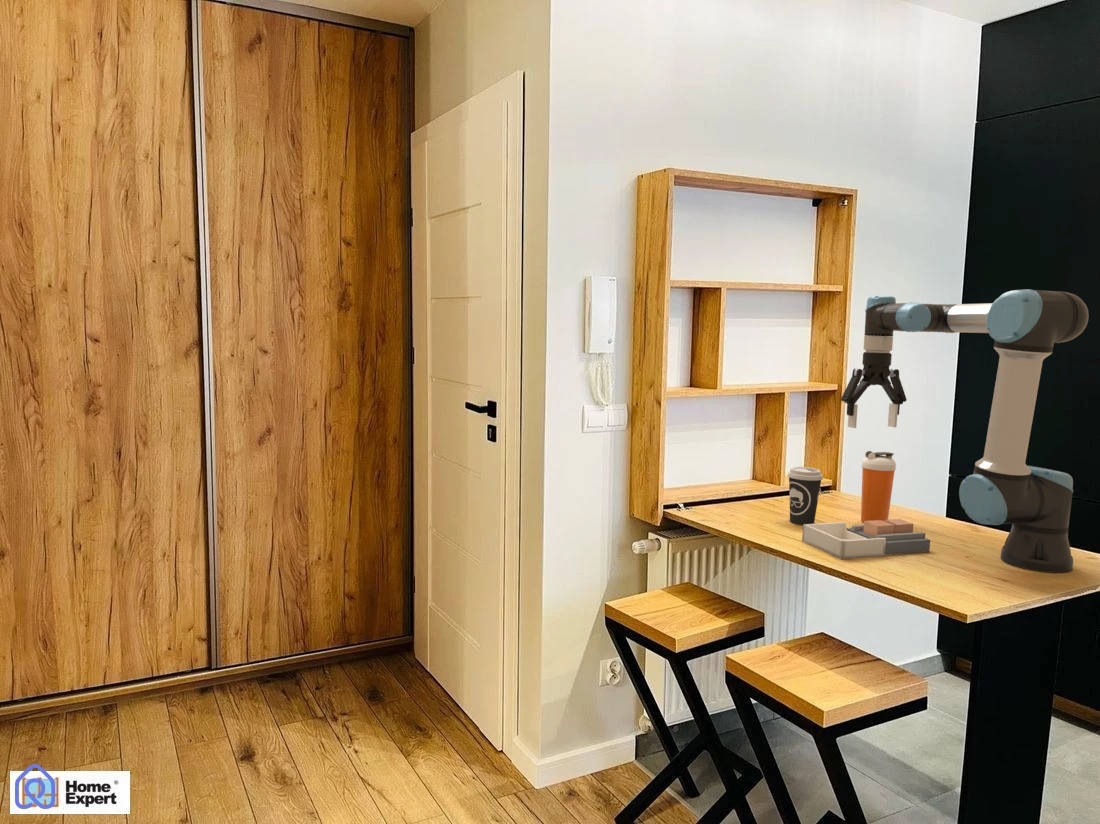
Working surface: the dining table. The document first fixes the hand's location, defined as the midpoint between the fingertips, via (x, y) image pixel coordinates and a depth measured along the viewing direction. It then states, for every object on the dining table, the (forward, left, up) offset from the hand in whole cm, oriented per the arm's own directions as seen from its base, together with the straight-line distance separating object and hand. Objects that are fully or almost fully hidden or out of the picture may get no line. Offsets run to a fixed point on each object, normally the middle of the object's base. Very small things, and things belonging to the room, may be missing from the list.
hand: (872, 427), depth 240 cm
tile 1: (-24, +16, -24) cm, 37 cm away
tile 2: (-24, +10, -24) cm, 35 cm away
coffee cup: (+1, +21, -27) cm, 34 cm away
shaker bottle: (-3, 0, -27) cm, 27 cm away
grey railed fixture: (-24, +13, -27) cm, 38 cm away
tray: (-24, +26, -27) cm, 45 cm away
